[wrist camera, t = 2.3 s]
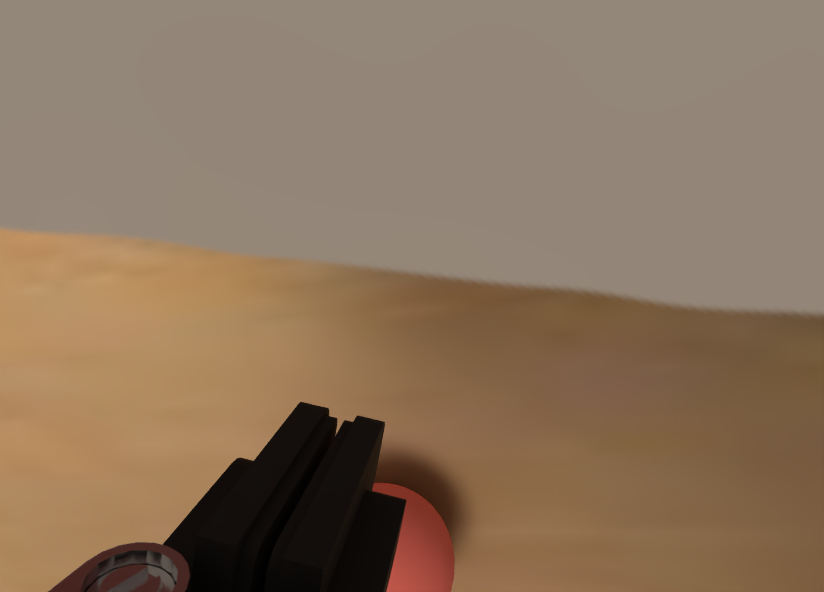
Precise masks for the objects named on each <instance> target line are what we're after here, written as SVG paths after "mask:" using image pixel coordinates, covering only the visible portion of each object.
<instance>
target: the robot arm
mask: <svg viewBox="0 0 824 592" xmlns="http://www.w3.org/2000/svg"><path fill="white" fill-rule="evenodd" d="M384 427H385V422H383V421H379V420H374V419H370V418H366V417H362V416H357V417H356V418H355V420H354V422H351V421H346V420H345V421H344V422H343V424H342V426H341V427H340V429H339V431H338V433H337V434H336V428H337V418H334V417H330V416H329V409H328V408H325V407H320V406H316V405H312V404H308V403H304V402H300V403H299V404H298V405H297V407H296V408H295V409H294V410H293V412H292V413H291V414H290V415H289V417H288V418H287V419H286V421H285V422H284V423H283V424H282V426H281V427H280V428H279V430H278V431H277V432H276V433H275V435H274V436H273V437H272V438H271V440H270V441H269V442H268V444H267V445H266V446H265V447H264V449H263V450H262V451H261V452H260V454H259V455H258V456H257V458H256V459H255V460H254V461H252V460H248V459H244V458H237V459H236V460H235V461H234V462H233V463H232V464H231V465H230V466H229V467H228V468H227V470H226V471H225V472H224V473H223V474H222V475H221V477H220V478H219V479H218V480H217V481H216V482H215V484H214V485H213V486H212V487H211V488H210V490H209V491H208V492H207V493H206V494H205V495H204V497H203V498H202V499H201V500H200V501H199V502H198V504H197V505H196V506H195V507H194V508H193V509H192V511H191V512H190V513H189V514H188V515H187V517H186V518H185V519H184V520H183V521H182V522H181V524H180V525H179V526H178V527H177V528H176V530H175V531H174V532H173V533H172V534H171V535H170V537H169V538H168V539H167V540H166V541H165V542H164V544H163V545H161V544H157V543H147V542H136V543H130V544H124V545H119V546H116V547H114V548H111V549H108V550H106V551H103V552H101V553H99V554H98V555H96V556H94V557H93V558H91V559H90V560H88V561H86V562H85V563H84V564H83V565H81V566H80V567H79V568H77V569H76V570H75V571H74V572H72V573H71V574H70V575H69V576H67V577H66V578H65V579H63V580H62V581H61V582H60V583H58V584H57V585H56V586H55V587H53V588H52V589H51V590H49V591H48V592H386V591H387V587H388V583H389V579H390V575H391V570H392V566H393V562H394V557H395V553H396V548H397V544H398V539H399V535H400V530H401V525H402V520H403V516H404V511H405V506H406V501H407V500H406V499H402V498H399V497H395V496H391V495H387V494H383V493H379V492H375V491H372V490H373V485H374V479H375V474H376V469H377V464H378V459H379V453H380V448H381V443H382V438H383V433H384ZM335 434H336V436H335Z"/></svg>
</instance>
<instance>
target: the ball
mask: <svg viewBox="0 0 824 592" xmlns="http://www.w3.org/2000/svg"><path fill="white" fill-rule="evenodd" d="M372 491H375V492H379V493H383V494H387V495H391V496H395V497H399V498H402V499H406V500H407V501H406V506H405V511H404V516H403V520H402V525H401V530H400V535H399V539H398V544H397V548H396V553H395V557H394V562H393V566H392V570H391V575H390V579H389V583H388V587H387V591H386V592H451V588H452V583H453V578H454V552H453V546H452V541H451V538H450V535H449V532H448V530H447V528H446V525H445V523H444V521H443V520H442V518H441V516H440V515H439V514H438V512H437V511H436V510H435V509H434V507H433V506H432V505H431V504H430V503H429V502H428V501H427V500H426V499H424V498H423V497H422V496H420V495H419V494H417V493H416V492H414V491H412V490H410V489H408V488H405V487H402V486H399V485H395V484H390V483H374V485H373V490H372Z"/></svg>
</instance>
